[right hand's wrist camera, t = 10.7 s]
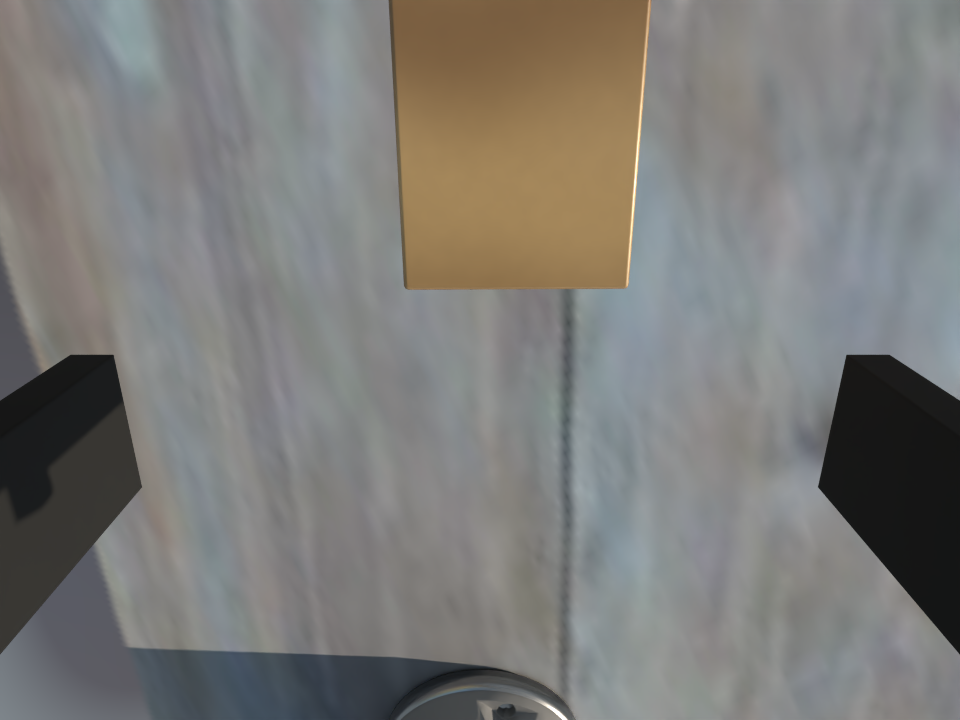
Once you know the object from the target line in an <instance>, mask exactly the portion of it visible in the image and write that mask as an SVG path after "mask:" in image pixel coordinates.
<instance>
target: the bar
mask: <svg viewBox="0 0 960 720" xmlns="http://www.w3.org/2000/svg"><path fill="white" fill-rule="evenodd" d="M650 10H651V0H389V15H390V34H391V52H392V71H393V89H394V108H395V126H396V145H397V164H398V182H399V201H400V219H401V238H402V256H403V275H404V286H405V288H406V289H408V290H427V289H624V288H627V286H628V284H629V272H630V259H631V247H632V234H633V222H634V209H635V197H636V185H637V172H638V160H639V147H640V135H641V122H642V110H643V97H644V85H645V72H646V60H647V47H648V35H649V23H650Z"/></svg>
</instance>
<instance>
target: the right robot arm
mask: <svg viewBox="0 0 960 720" xmlns="http://www.w3.org/2000/svg"><path fill="white" fill-rule="evenodd" d="M141 488H142V485H141V481H140V476H139V471H138V467H137V462H136V457H135V453H134V448H133V444H132V439H131V434H130V430H129V425H128V420H127V416H126V411H125V406H124V402H123V397H122V392H121V388H120V383H119V378H118V374H117V369H116V364H115V360H114V355H70V356H68V357H67V358H65V359H64V360H62V361H60V362H59V363H57V364H56V365H54V366H53V367H51V368H50V369H48V370H47V371H45V372H44V373H42V374H41V375H39V376H37V377H36V378H34V379H33V380H31V381H30V382H28V383H27V384H25V385H24V386H22V387H21V388H19V389H17V390H16V391H14V392H13V393H11V394H10V395H8V396H7V397H5V398H4V399H2V400H1V401H0V654H1V653H2V652H3V650H4V649H5V648H6V647H7V646H8V645H9V643H10V642H11V641H12V640H13V639H14V637H15V636H16V635H17V634H18V633H19V632H20V630H21V629H22V628H23V627H24V626H25V624H26V623H27V622H28V621H29V620H30V618H31V617H32V616H33V615H34V614H35V613H36V611H37V610H38V609H39V608H40V607H41V606H42V604H43V603H44V602H45V601H46V600H47V599H48V597H49V596H50V595H51V594H52V593H53V591H54V590H55V589H56V588H57V587H58V586H59V584H60V583H61V582H62V581H63V580H64V578H65V577H66V576H67V575H68V574H69V573H70V571H71V570H72V569H73V568H74V567H75V565H76V564H77V563H78V562H79V561H80V560H81V558H82V557H83V556H84V555H85V554H86V552H87V551H88V550H89V549H90V548H91V547H92V545H93V544H94V543H95V542H96V541H97V540H98V538H99V537H100V536H101V535H102V534H103V532H104V531H105V530H106V529H107V528H108V527H109V525H110V524H111V523H112V522H113V521H114V519H115V518H116V517H117V516H118V515H119V514H120V512H121V511H122V510H123V509H124V508H125V506H126V505H127V504H128V503H129V502H130V501H131V499H132V498H133V497H134V496H135V495H136V494H137V492H138V491H139V490H140V489H141ZM818 488H819V489H820V490H821V491H822V492H823V494H824V495H825V496H826V497H827V498H828V499H829V501H830V502H831V503H832V504H833V505H834V506H835V508H836V509H837V510H838V511H839V512H840V514H841V515H842V516H843V517H844V518H845V519H846V521H847V522H848V523H849V524H850V525H851V527H852V528H853V529H854V530H855V531H856V532H857V534H858V535H859V536H860V537H861V538H862V540H863V541H864V542H865V543H866V544H867V545H868V547H869V548H870V549H871V550H872V551H873V552H874V554H875V555H876V556H877V557H878V558H879V560H880V561H881V562H882V563H883V564H884V565H885V567H886V568H887V569H888V570H889V571H890V573H891V574H892V575H893V576H894V577H895V578H896V580H897V581H898V582H899V583H900V584H901V586H902V587H903V588H904V589H905V590H906V591H907V593H908V594H909V595H910V596H911V597H912V599H913V600H914V601H915V602H916V603H917V604H918V606H919V607H920V608H921V609H922V610H923V611H924V613H925V614H926V615H927V616H928V617H929V619H930V620H931V621H932V622H933V623H934V624H935V626H936V627H937V628H938V629H939V630H940V632H941V633H942V634H943V635H944V636H945V637H946V639H947V640H948V641H949V642H950V643H951V645H952V646H953V647H954V648H955V649H956V650H957V652H958V653H959V654H960V401H959V400H958V399H956V398H955V397H953V396H952V395H950V394H949V393H947V392H946V391H944V390H943V389H941V388H939V387H938V386H936V385H935V384H933V383H932V382H930V381H929V380H927V379H926V378H924V377H923V376H921V375H919V374H918V373H916V372H915V371H913V370H912V369H910V368H909V367H907V366H906V365H904V364H903V363H901V362H900V361H898V360H896V359H895V358H893V357H892V356H890V355H846V360H845V364H844V369H843V374H842V378H841V383H840V388H839V392H838V397H837V402H836V406H835V411H834V416H833V420H832V425H831V430H830V434H829V439H828V444H827V448H826V453H825V457H824V462H823V467H822V471H821V476H820V481H819V485H818ZM389 720H575V718H574V716H573V714H572V712H571V711H570V709H569V707H568V706H567V705H566V704H565V702H564V701H563V700H562V699H561V698H560V697H559V696H558V695H556V694H555V693H554V692H553V691H551V690H550V689H548V688H547V687H545V686H544V685H542V684H540V683H538V682H536V681H534V680H531V679H529V678H526V677H523V676H520V675H517V674H513V673H509V672H503V671H495V670H468V671H460V672H455V673H450V674H447V675H443V676H440V677H437V678H434V679H432V680H430V681H428V682H426V683H423V684H422V685H420V686H418V687H417V688H415V689H414V690H412V691H411V692H410V693H409V694H407V695H406V696H405V697H404V698H403V699H402V700H401V701H400V702H399V703H398V705H397V706H396V708H395V709H394V711H393V712H392V714H391V716H390V719H389Z"/></svg>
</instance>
